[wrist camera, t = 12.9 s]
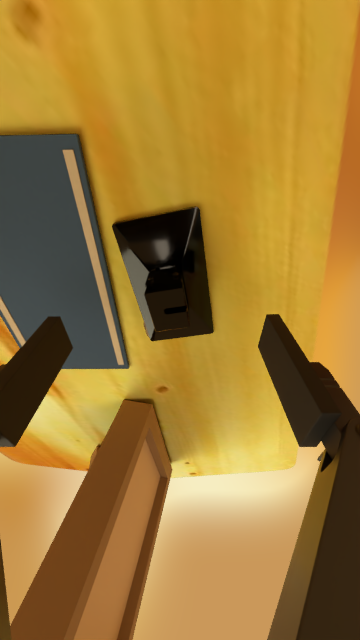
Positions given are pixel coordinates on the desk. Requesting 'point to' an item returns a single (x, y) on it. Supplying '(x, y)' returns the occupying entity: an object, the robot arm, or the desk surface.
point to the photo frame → (103, 539)
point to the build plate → (168, 272)
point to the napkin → (55, 250)
